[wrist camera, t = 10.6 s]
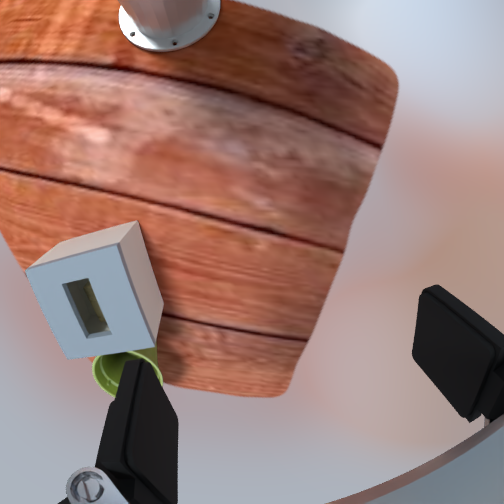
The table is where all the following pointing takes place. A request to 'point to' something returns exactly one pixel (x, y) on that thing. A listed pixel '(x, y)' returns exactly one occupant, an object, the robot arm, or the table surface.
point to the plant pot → (121, 367)
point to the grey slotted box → (99, 292)
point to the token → (93, 301)
